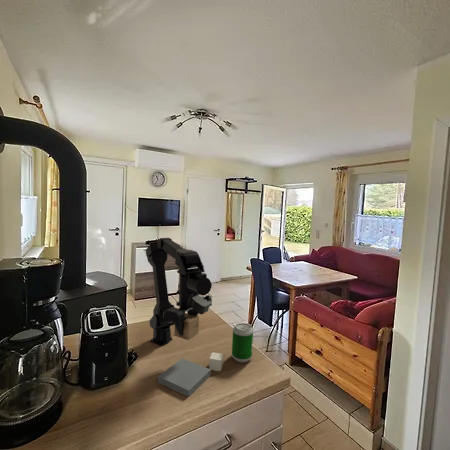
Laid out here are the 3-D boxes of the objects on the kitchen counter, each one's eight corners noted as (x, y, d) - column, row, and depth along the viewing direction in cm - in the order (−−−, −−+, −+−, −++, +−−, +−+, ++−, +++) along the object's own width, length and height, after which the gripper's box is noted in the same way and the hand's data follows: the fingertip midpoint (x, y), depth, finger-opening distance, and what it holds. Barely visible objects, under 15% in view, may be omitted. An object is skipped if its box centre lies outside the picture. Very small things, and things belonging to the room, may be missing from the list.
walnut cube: (174, 335, 93) (174, 318, 93) (184, 329, 98) (185, 313, 98) (188, 340, 90) (188, 322, 90) (198, 333, 96) (199, 316, 95)
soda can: (250, 365, 95) (252, 332, 95) (229, 362, 97) (231, 329, 96) (252, 354, 103) (254, 323, 102) (233, 351, 104) (234, 321, 103)
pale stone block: (209, 369, 92) (209, 358, 92) (211, 363, 96) (212, 352, 96) (220, 371, 91) (221, 360, 91) (222, 364, 95) (223, 353, 95)
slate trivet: (157, 382, 84) (157, 376, 84) (182, 363, 95) (182, 358, 94) (188, 397, 78) (188, 390, 78) (210, 375, 89) (211, 369, 89)
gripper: (190, 299, 81) (189, 349, 82) (220, 285, 98) (219, 327, 99) (162, 293, 87) (161, 340, 87) (195, 280, 103) (194, 320, 104)
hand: (186, 331), depth 94 cm, fingers closed on walnut cube, 6 cm apart
